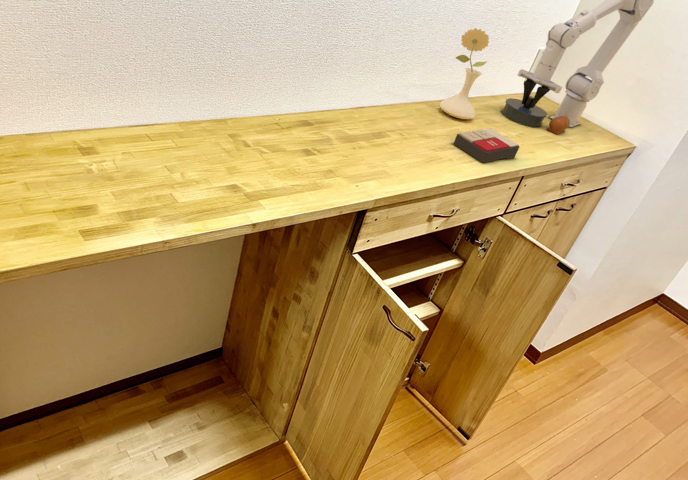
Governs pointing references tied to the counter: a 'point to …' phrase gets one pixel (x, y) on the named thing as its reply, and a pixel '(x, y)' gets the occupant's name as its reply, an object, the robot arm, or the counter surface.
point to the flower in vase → (460, 102)
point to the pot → (521, 117)
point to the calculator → (486, 145)
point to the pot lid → (526, 107)
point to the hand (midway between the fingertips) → (527, 105)
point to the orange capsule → (558, 124)
